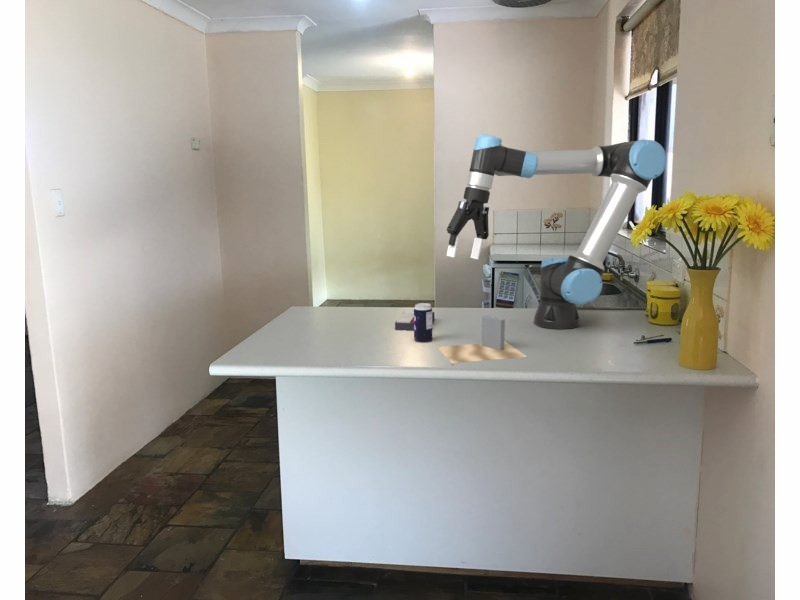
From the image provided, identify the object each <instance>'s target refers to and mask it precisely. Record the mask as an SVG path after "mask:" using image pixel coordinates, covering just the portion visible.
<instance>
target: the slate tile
mask: <svg viewBox="0 0 800 600" xmlns="http://www.w3.org/2000/svg"><path fill="white" fill-rule="evenodd" d="M505 322H506V319H504V318H500V317H499V318H498V317H495V316H494V317H493V316H489V315H484V316H483V315H482V317H481V343H482V346H485V347H488V348H492V349H496V350H500V351H501V350H504V342H505V333H506V329H505V328H506V323H505Z"/></svg>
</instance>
